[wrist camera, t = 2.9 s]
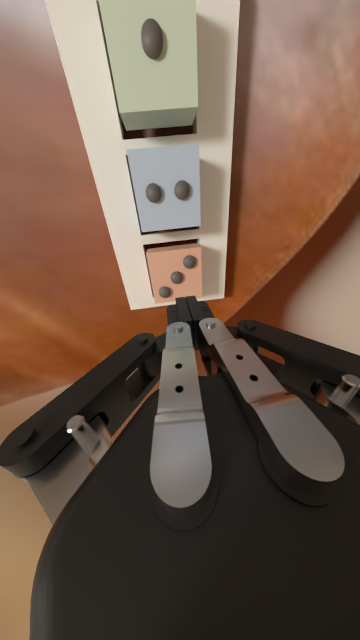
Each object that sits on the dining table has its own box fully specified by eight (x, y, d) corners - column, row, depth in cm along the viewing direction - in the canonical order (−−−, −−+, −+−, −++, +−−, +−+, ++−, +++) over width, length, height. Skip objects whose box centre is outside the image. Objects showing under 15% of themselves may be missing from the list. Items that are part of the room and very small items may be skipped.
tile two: (192, 154, 16) (199, 141, 14) (195, 224, 20) (201, 226, 17) (131, 160, 16) (125, 148, 13) (144, 230, 19) (141, 232, 17)
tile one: (187, 5, 12) (195, -59, 9) (191, 125, 15) (198, 104, 13) (104, 9, 12) (87, -54, 9) (126, 130, 15) (118, 110, 12)
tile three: (196, 243, 21) (201, 247, 18) (197, 289, 24) (202, 298, 21) (147, 248, 20) (145, 253, 18) (155, 294, 24) (155, 304, 21)
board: (231, -14, 13) (242, -49, 11) (220, 292, 27) (224, 297, 25) (50, -5, 13) (33, -40, 11) (132, 303, 26) (130, 309, 25)
